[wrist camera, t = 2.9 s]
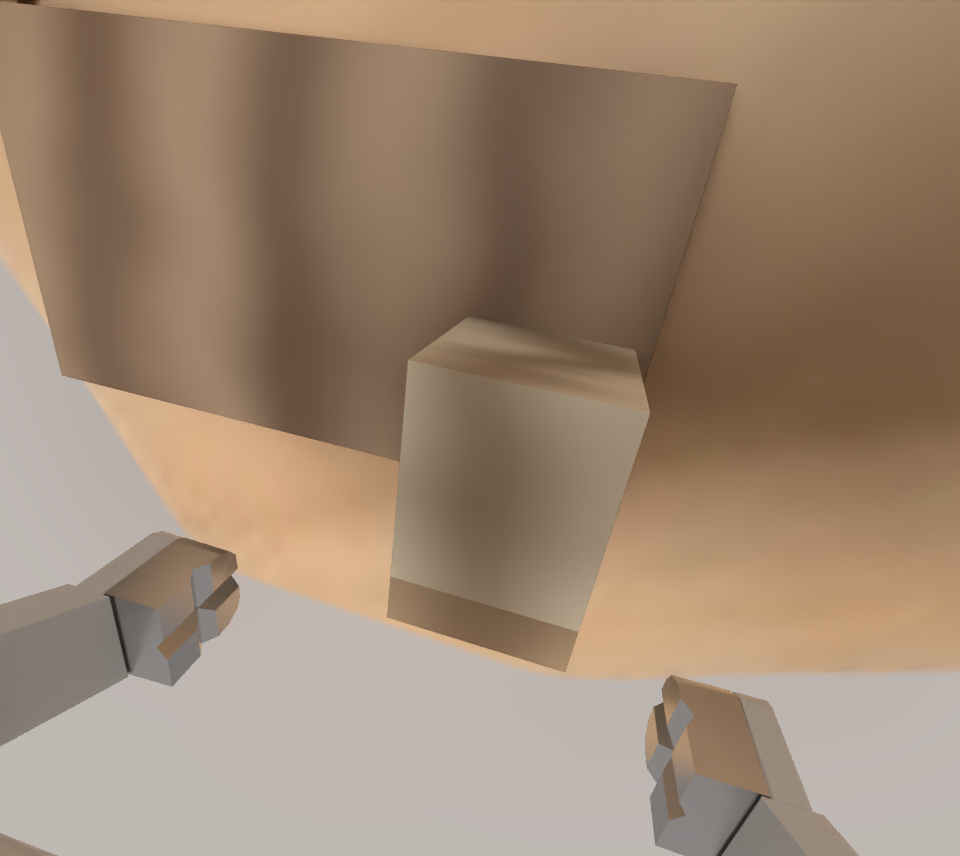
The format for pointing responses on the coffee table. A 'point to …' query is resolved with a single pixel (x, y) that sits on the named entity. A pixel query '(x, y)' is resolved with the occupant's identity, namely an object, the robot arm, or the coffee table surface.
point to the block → (511, 484)
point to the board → (333, 207)
